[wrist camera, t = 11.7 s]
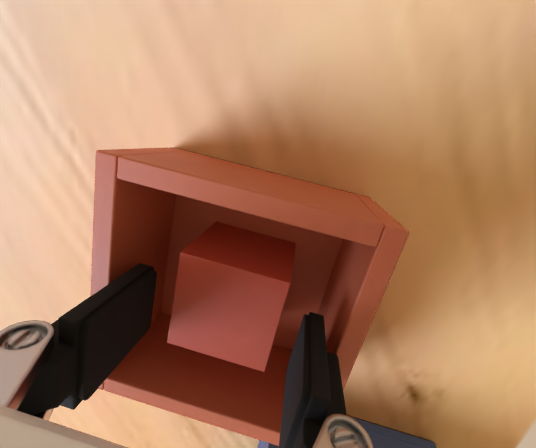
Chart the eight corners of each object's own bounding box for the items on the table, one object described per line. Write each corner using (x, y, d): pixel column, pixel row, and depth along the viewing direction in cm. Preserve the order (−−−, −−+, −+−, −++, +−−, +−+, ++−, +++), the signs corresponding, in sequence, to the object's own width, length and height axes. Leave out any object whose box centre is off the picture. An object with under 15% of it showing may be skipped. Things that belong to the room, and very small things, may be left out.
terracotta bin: (371, 197, 14) (411, 232, 9) (312, 360, 17) (315, 458, 12) (172, 147, 14) (95, 149, 9) (152, 312, 18) (86, 385, 12)
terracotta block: (295, 242, 14) (291, 283, 10) (276, 311, 16) (264, 372, 12) (216, 221, 15) (179, 251, 11) (203, 290, 16) (166, 343, 12)
